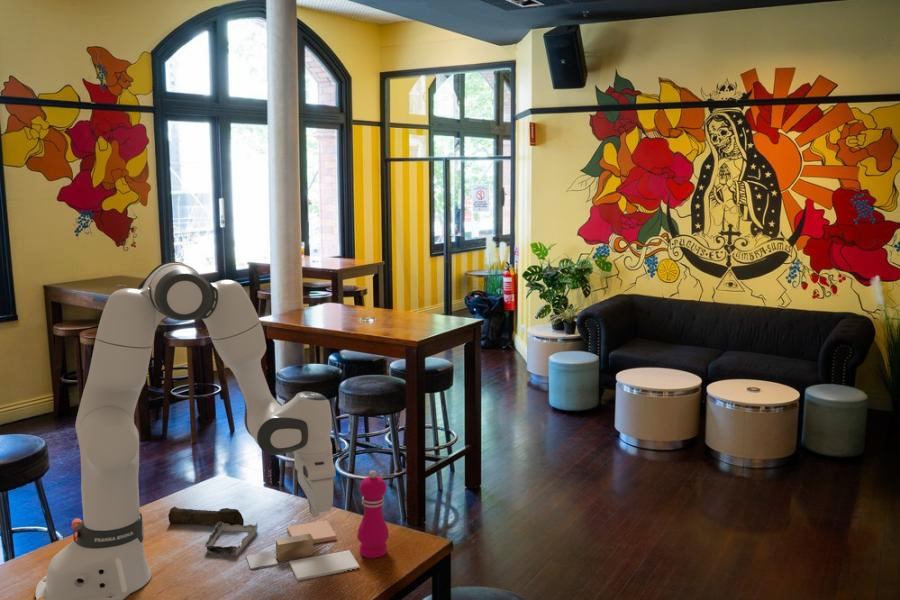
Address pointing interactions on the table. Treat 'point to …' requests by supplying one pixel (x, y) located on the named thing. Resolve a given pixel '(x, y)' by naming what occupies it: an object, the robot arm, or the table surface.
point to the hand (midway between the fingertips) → (314, 514)
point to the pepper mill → (373, 517)
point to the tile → (314, 531)
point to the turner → (283, 551)
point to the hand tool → (205, 516)
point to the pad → (323, 565)
